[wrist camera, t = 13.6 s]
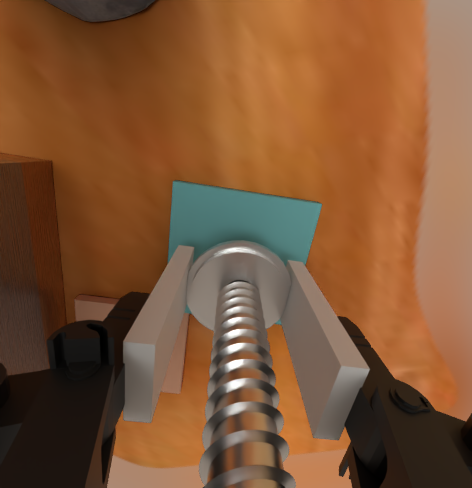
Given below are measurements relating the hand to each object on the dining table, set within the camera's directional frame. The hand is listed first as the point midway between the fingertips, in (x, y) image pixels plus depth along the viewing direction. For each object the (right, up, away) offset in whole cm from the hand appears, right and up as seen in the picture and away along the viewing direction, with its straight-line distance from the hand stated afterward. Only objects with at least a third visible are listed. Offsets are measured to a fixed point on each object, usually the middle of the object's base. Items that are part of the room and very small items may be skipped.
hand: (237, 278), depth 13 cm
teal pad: (0, +1, +3) cm, 3 cm away
